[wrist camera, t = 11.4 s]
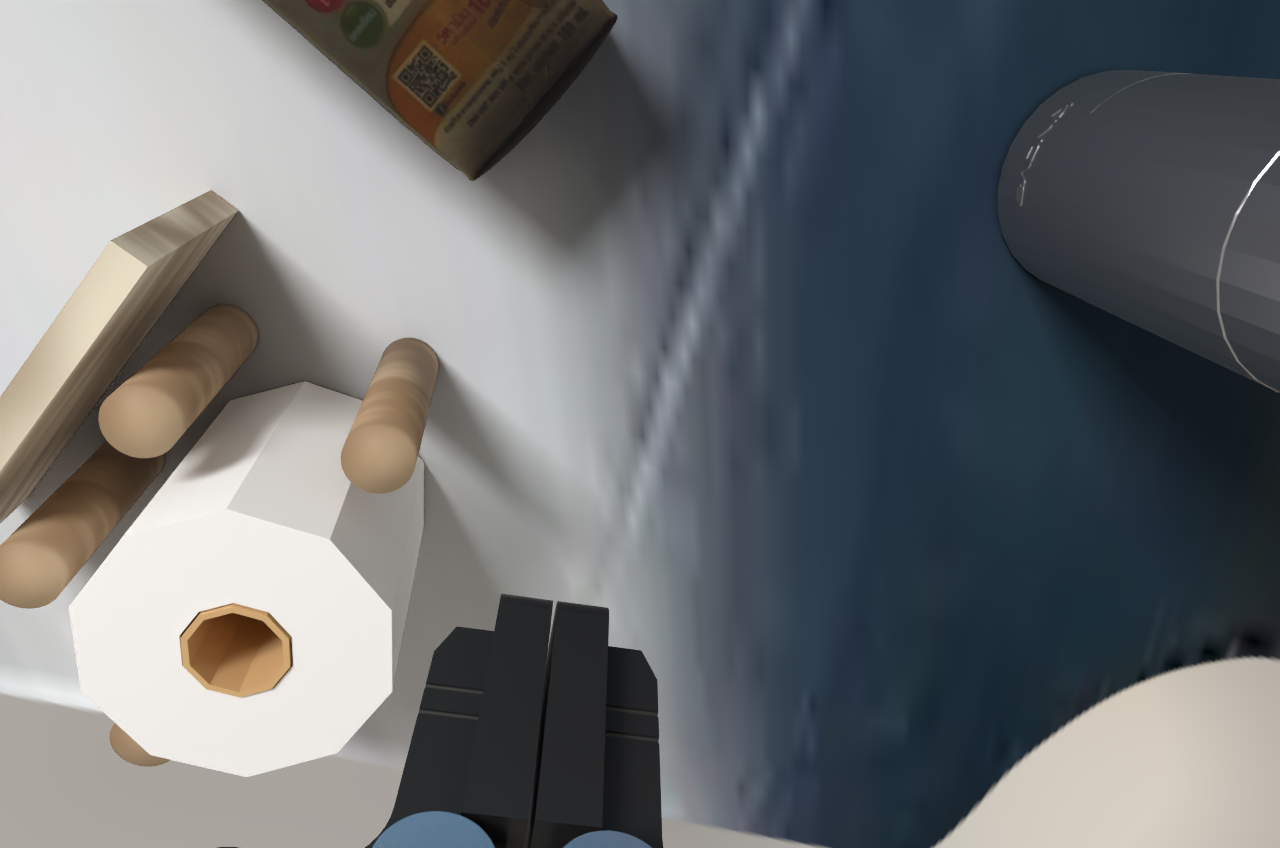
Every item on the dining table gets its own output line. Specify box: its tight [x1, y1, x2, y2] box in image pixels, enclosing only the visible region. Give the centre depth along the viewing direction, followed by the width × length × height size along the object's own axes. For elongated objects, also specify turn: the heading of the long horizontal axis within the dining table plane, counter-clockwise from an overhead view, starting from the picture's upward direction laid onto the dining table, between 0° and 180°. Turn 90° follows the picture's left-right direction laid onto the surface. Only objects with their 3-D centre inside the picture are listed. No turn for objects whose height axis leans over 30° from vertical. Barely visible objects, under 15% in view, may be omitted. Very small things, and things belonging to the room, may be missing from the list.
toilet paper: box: [68, 381, 424, 777], centre depth 37 cm, size 10×10×12 cm
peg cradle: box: [0, 190, 439, 766], centre depth 36 cm, size 11×16×10 cm
